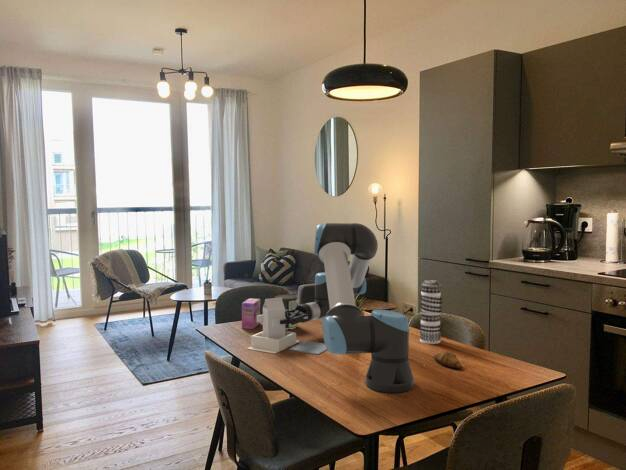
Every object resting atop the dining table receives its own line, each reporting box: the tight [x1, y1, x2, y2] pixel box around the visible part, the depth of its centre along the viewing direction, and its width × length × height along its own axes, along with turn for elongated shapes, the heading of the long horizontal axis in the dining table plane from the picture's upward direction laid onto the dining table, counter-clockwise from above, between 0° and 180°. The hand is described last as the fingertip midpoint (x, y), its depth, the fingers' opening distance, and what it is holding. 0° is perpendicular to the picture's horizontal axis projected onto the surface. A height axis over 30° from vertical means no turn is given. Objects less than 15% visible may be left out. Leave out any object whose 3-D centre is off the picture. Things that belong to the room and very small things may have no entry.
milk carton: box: [262, 297, 286, 339], centre depth 210 cm, size 7×7×19 cm
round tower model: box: [419, 279, 443, 345], centre depth 216 cm, size 9×9×25 cm
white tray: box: [246, 330, 301, 355], centre depth 211 cm, size 19×13×4 cm
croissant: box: [433, 350, 462, 370], centre depth 187 cm, size 14×7×5 cm, turn 24°
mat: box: [288, 340, 328, 355], centre depth 207 cm, size 13×13×1 cm
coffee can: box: [274, 293, 298, 331], centre depth 239 cm, size 10×10×14 cm
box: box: [241, 297, 261, 330], centre depth 241 cm, size 10×6×12 cm, turn 168°
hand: (264, 321), depth 207 cm, fingers closed on milk carton, 9 cm apart
